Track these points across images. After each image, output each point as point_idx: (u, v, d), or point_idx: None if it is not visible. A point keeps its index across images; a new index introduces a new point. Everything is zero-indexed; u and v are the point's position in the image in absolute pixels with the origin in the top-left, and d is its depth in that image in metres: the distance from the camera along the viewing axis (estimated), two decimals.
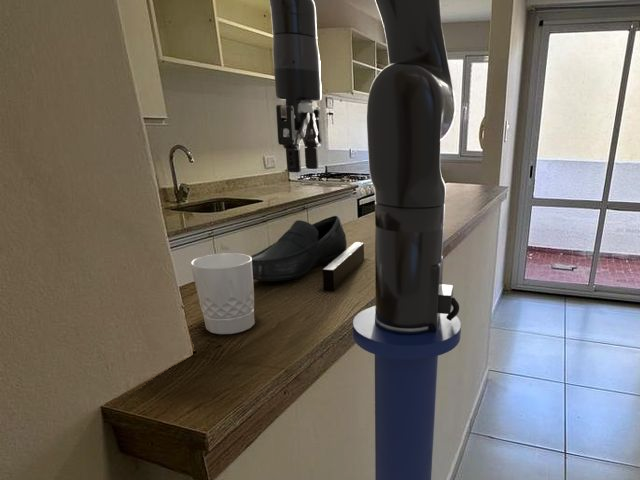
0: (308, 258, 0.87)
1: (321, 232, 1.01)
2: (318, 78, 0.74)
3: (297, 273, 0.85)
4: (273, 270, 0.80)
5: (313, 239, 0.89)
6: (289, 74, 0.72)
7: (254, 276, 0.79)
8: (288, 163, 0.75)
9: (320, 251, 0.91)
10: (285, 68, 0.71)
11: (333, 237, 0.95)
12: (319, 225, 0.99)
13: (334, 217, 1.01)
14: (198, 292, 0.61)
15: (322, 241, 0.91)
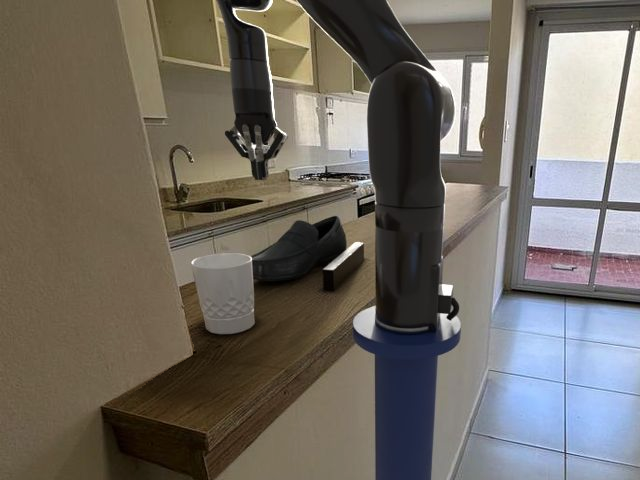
0: (308, 258, 0.87)
1: (321, 232, 1.01)
2: (241, 94, 0.84)
3: (297, 273, 0.85)
4: (273, 270, 0.80)
5: (313, 239, 0.89)
6: None
7: (254, 276, 0.79)
8: None
9: (320, 251, 0.91)
10: None
11: (333, 237, 0.95)
12: (319, 225, 0.99)
13: (334, 217, 1.01)
14: (198, 292, 0.61)
15: (322, 241, 0.91)
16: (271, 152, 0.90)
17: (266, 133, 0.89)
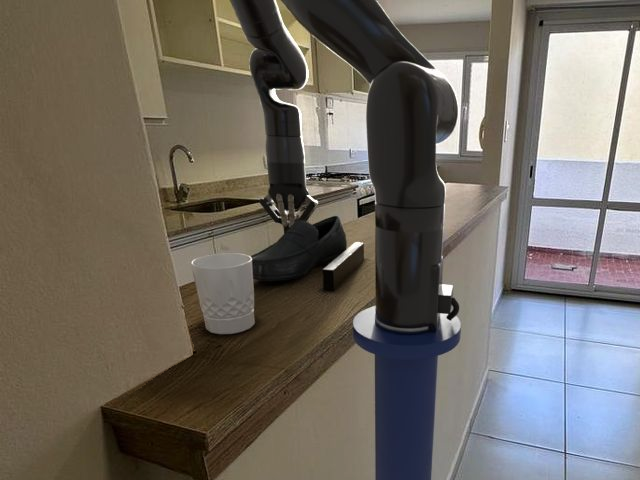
0: (308, 258, 0.87)
1: (321, 232, 1.01)
2: (277, 168, 0.89)
3: (297, 273, 0.85)
4: (273, 270, 0.80)
5: (313, 239, 0.89)
6: None
7: (254, 276, 0.79)
8: None
9: (320, 251, 0.91)
10: None
11: (333, 237, 0.95)
12: (319, 225, 0.99)
13: (334, 217, 1.01)
14: (198, 292, 0.61)
15: (322, 241, 0.91)
16: (303, 219, 0.95)
17: (299, 201, 0.93)
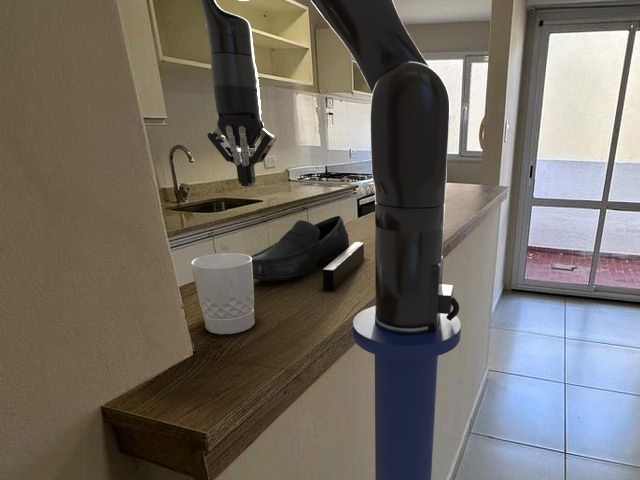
0: (309, 258, 0.87)
1: (324, 232, 1.01)
2: (223, 92, 0.76)
3: (297, 273, 0.85)
4: (273, 270, 0.80)
5: (314, 239, 0.89)
6: None
7: (254, 276, 0.79)
8: None
9: (321, 251, 0.91)
10: None
11: (335, 237, 0.95)
12: (322, 225, 0.99)
13: (337, 217, 1.00)
14: (198, 292, 0.61)
15: (323, 241, 0.91)
16: (257, 156, 0.82)
17: (252, 135, 0.81)
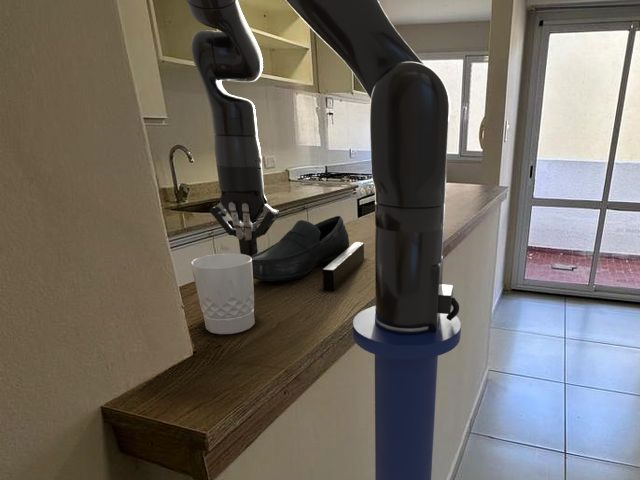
0: (309, 258, 0.87)
1: (324, 232, 1.01)
2: (227, 172, 0.76)
3: (298, 273, 0.85)
4: (274, 270, 0.80)
5: (315, 239, 0.89)
6: None
7: (255, 276, 0.79)
8: None
9: (322, 251, 0.91)
10: None
11: (335, 237, 0.95)
12: (322, 225, 0.99)
13: (337, 217, 1.00)
14: (198, 292, 0.61)
15: (324, 241, 0.91)
16: (260, 231, 0.82)
17: (255, 211, 0.81)
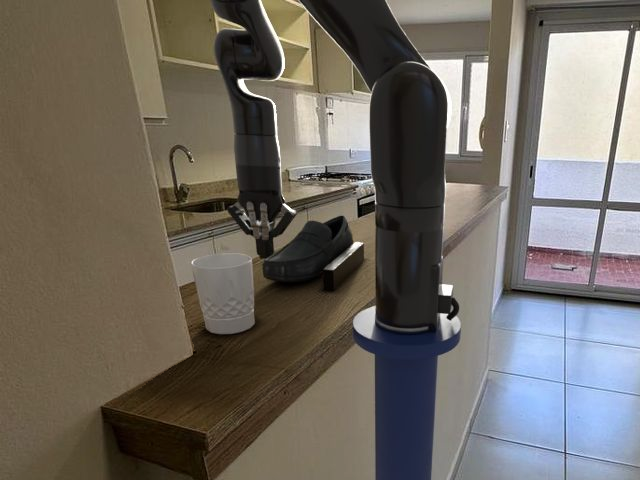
0: (324, 258, 0.87)
1: None
2: (246, 171, 0.76)
3: (315, 273, 0.85)
4: (295, 271, 0.80)
5: (327, 239, 0.89)
6: None
7: (276, 277, 0.79)
8: None
9: (333, 251, 0.92)
10: None
11: (343, 237, 0.95)
12: (326, 225, 0.99)
13: (340, 217, 1.01)
14: (198, 292, 0.61)
15: (335, 241, 0.91)
16: (277, 231, 0.81)
17: (273, 211, 0.80)
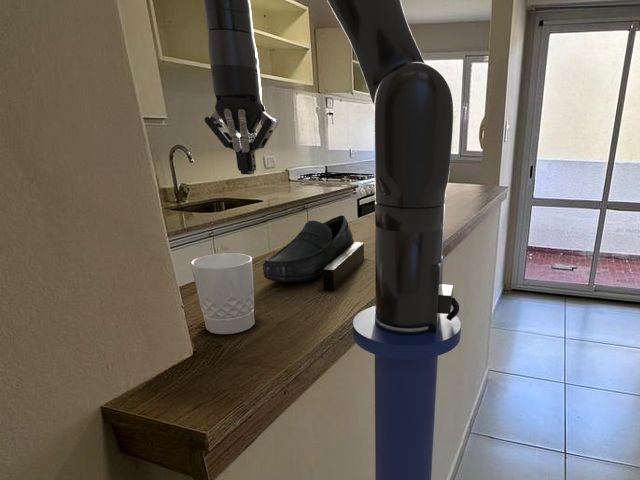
0: (324, 258, 0.87)
1: None
2: (221, 72, 0.71)
3: (316, 273, 0.85)
4: (295, 271, 0.80)
5: (328, 239, 0.89)
6: None
7: (277, 277, 0.79)
8: None
9: (334, 251, 0.92)
10: None
11: (344, 237, 0.95)
12: (327, 225, 0.99)
13: (340, 217, 1.01)
14: (198, 292, 0.61)
15: (336, 241, 0.91)
16: (258, 141, 0.77)
17: (252, 119, 0.76)
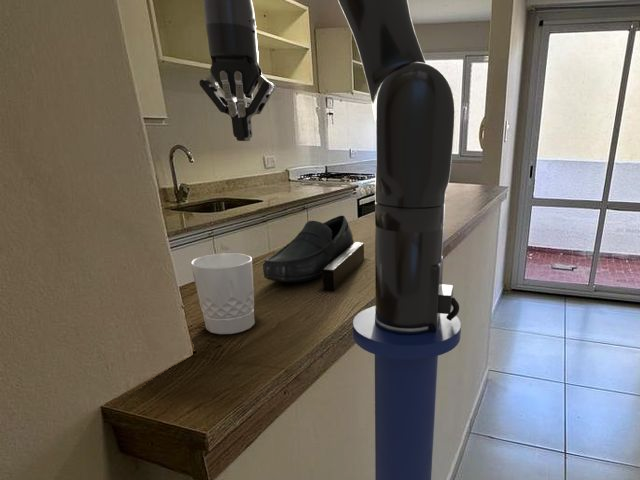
0: (324, 258, 0.87)
1: None
2: (217, 30, 0.69)
3: (316, 273, 0.85)
4: (295, 271, 0.80)
5: (328, 239, 0.89)
6: None
7: (277, 277, 0.79)
8: None
9: (334, 251, 0.92)
10: None
11: (344, 237, 0.95)
12: (327, 225, 0.99)
13: (340, 217, 1.01)
14: (198, 292, 0.61)
15: (336, 241, 0.91)
16: (254, 105, 0.75)
17: (249, 82, 0.74)
